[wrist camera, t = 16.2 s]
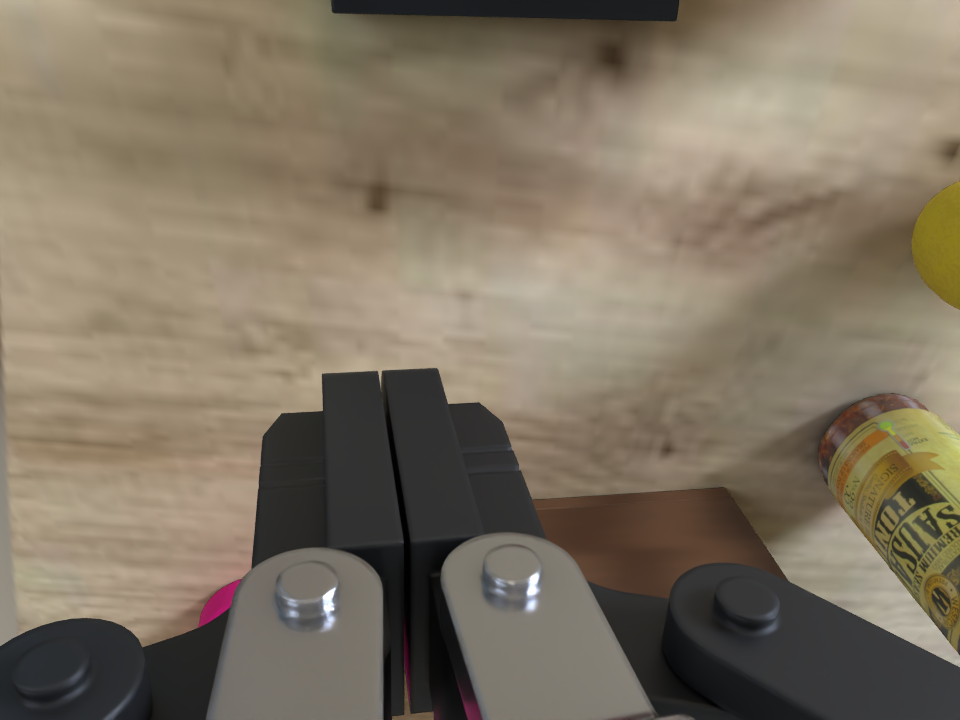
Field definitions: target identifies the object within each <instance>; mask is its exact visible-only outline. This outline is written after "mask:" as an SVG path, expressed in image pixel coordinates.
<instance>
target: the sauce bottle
mask: <svg viewBox="0 0 960 720" xmlns="http://www.w3.org/2000/svg"><path fill="white" fill-rule="evenodd" d="M818 453H819V454H818V459H819V464H820V469H821V472H822V474H823V477H824V481H825V482H826V484H827V485H828V487H829V489H830V492H831V493H832V495H833V496H834V498H835V499H836V500H837V502H838V503H839V504H840V505H841V507H842V508H843V509H844V510H845V512H846V513H847V514H848V516H849V517H850V518H851V519H852V521H853V522H854V523H855V524H856V526H857V527H858V528H859V529H860V531H861V532H862V533H863V534H864V536H865V537H866V538H867V539H868V541H869V542H870V543H871V544H872V546H873V547H874V548H875V549H876V551H877V552H878V553H879V554H880V556H881V557H882V558H883V559H884V561H885V562H886V563H887V565H888V566H889V568H890V569H891V570H892V571H893V572H894V573H895V575H896V576H897V577H898V579H899V580H900V581H901V582H902V584H903V585H904V586H905V587H906V589H907V590H908V591H909V593H910V594H911V595H912V596H913V598H914V599H915V600H916V601H917V603H918V604H919V605H920V606H921V607H922V609H923V610H924V611H925V612H926V613H927V615H928V616H929V617H930V618H931V620H932V621H933V622H934V623H935V625H936V626H937V627H938V628H939V630H940V631H941V632H942V634H943V635H944V636H945V637H946V639H947V640H948V641H949V642H950V644H951V645H952V646H953V647H954V649H955V650H956V651H957V652H958V654H959V655H960V435H959V434H957V433H956V432H955V431H954V430H953V429H952V428H951V427H950V426H949V425H948V424H947V423H946V422H945V421H943V420H942V419H941V418H940V417H938V416H937V415H935V414H933V413H931V412H929V410H928V409H927V408H926V407H925V406H924V405H922V404H921V403H920V402H918V401H917V400H915V399H911V398H909V397H907V396H905V395H899V394H894V393H891V394H879V395H876V396H871V397H867V398H864V399H862V400H860V401H858V402H857V403H856V404H853V405H852V406H851V407H849V408H848V409H846V410H845V411H844V412H842V413H841V414H840V415H839V417H838V418H837V419H836V420H835V421H834V422H833V423H832V424H831V425H830V426H829V428H828V429H827V431H826V433H825V435H824V436H823V437H822V442H821V444H820V445H819V448H818Z"/></svg>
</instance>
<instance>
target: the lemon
mask: <svg viewBox="0 0 960 720" xmlns="http://www.w3.org/2000/svg"><path fill="white" fill-rule="evenodd" d="M911 247H912V253H913V259H914V263H915V266H916V268H917V270H918V272H919V274H920V275H921V277H922V279H923V280H924V282H925V283H926V284H927V285H928V287H929V288H930V289H932V290H933V291H934V292H935V293H936V294H937V295H938V296H939V297H940V298H941V299H942V300H944V301H945V302H947V303H948V304H950V305H951V306H953V307H955V308H958V309H960V181H958V182H956V183H954V184H952V185H950V186H948V187H946V188H945V189H943V190H942V191H941V192H940V193H938V194H937V195H936V196H934V197H933V198H932V199H931V200H930V201H929V203H928V204H927V205H926V206H925V207H924V208H923V210H922V212H921V213H920V215H919V217H918V219H917V221H916V224H915V227H914V230H913V235H912V244H911Z"/></svg>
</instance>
